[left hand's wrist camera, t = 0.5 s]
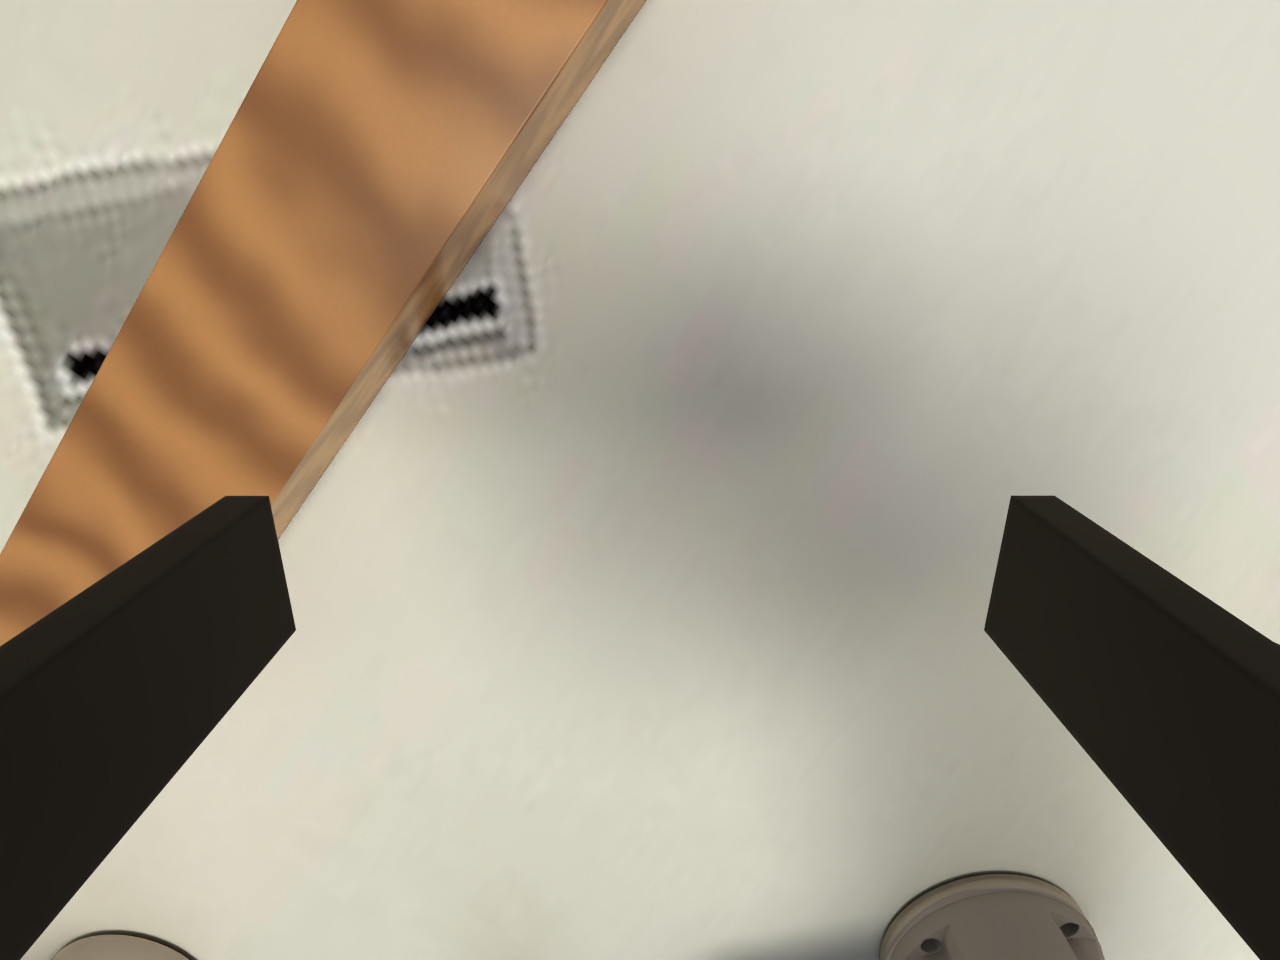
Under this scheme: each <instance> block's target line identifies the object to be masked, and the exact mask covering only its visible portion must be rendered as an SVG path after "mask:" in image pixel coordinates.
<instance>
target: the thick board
mask: <svg viewBox="0 0 1280 960" xmlns="http://www.w3.org/2000/svg"><path fill="white" fill-rule="evenodd" d="M645 1H646V0H297V2H296V4H295V6H294V7H293V9H292V11H291V13H290V15H289V17H288V19H287V20H286V22H285V24H284V26H283V28H282V30H281V32H280V34H279V35H278V37H277V39H276V41H275V43H274V45H273V47H272V48H271V50H270V52H269V54H268V56H267V58H266V60H265V62H264V63H263V65H262V67H261V69H260V71H259V73H258V75H257V76H256V78H255V80H254V82H253V84H252V86H251V88H250V90H249V91H248V93H247V95H246V97H245V99H244V101H243V103H242V104H241V106H240V108H239V110H238V112H237V114H236V116H235V117H234V119H233V121H232V123H231V125H230V127H229V129H228V131H227V132H226V134H225V136H224V138H223V140H222V142H221V144H220V145H219V147H218V149H217V151H216V153H215V155H214V157H213V159H212V160H211V162H210V164H209V166H208V168H207V170H206V172H205V173H204V175H203V177H202V179H201V181H200V183H199V185H198V187H197V188H196V190H195V192H194V194H193V196H192V198H191V200H190V201H189V203H188V205H187V207H186V209H185V211H184V213H183V215H182V216H181V218H180V220H179V222H178V224H177V226H176V228H175V229H174V231H173V233H172V235H171V237H170V239H169V241H168V243H167V244H166V246H165V248H164V250H163V252H162V254H161V256H160V257H159V259H158V261H157V263H156V265H155V267H154V269H153V270H152V272H151V274H150V276H149V278H148V280H147V282H146V284H145V285H144V287H143V289H142V291H141V293H140V295H139V297H138V298H137V300H136V302H135V304H134V306H133V308H132V310H131V312H130V313H129V315H128V317H127V319H126V321H125V323H124V325H123V326H122V328H121V330H120V332H119V334H118V336H117V338H116V340H115V341H114V343H113V345H112V347H111V349H110V351H109V353H108V354H107V356H106V358H105V360H104V362H103V364H102V366H101V368H100V369H99V371H98V373H97V375H96V377H95V379H94V381H93V382H92V384H91V386H90V388H89V390H88V392H87V394H86V396H85V397H84V399H83V401H82V403H81V405H80V407H79V409H78V410H77V412H76V414H75V416H74V418H73V420H72V422H71V423H70V425H69V427H68V429H67V431H66V433H65V435H64V437H63V438H62V440H61V442H60V444H59V446H58V448H57V450H56V451H55V453H54V455H53V457H52V459H51V461H50V463H49V465H48V466H47V468H46V470H45V472H44V474H43V476H42V478H41V479H40V481H39V483H38V485H37V487H36V489H35V491H34V493H33V494H32V496H31V498H30V500H29V502H28V504H27V506H26V507H25V509H24V511H23V513H22V515H21V517H20V519H19V521H18V522H17V524H16V526H15V528H14V530H13V532H12V534H11V535H10V537H9V539H8V541H7V543H6V545H5V547H4V549H3V550H2V552H1V554H0V646H1V645H3V644H4V643H6V642H7V641H9V640H10V639H12V638H13V637H15V636H16V635H18V634H19V633H21V632H22V631H24V630H25V629H27V628H28V627H30V626H31V625H33V624H34V623H36V622H37V621H39V620H40V619H42V618H43V617H45V616H46V615H48V614H49V613H51V612H52V611H54V610H55V609H57V608H58V607H60V606H61V605H63V604H64V603H66V602H67V601H69V600H70V599H72V598H73V597H75V596H76V595H78V594H79V593H81V592H82V591H84V590H85V589H87V588H88V587H90V586H91V585H93V584H94V583H96V582H97V581H99V580H100V579H102V578H103V577H105V576H106V575H108V574H109V573H111V572H112V571H114V570H115V569H117V568H118V567H120V566H121V565H123V564H124V563H126V562H127V561H129V560H130V559H132V558H133V557H135V556H136V555H138V554H139V553H141V552H142V551H144V550H145V549H147V548H148V547H150V546H151V545H153V544H154V543H156V542H157V541H159V540H160V539H162V538H163V537H165V536H166V535H168V534H169V533H171V532H172V531H174V530H175V529H177V528H178V527H180V526H181V525H183V524H184V523H186V522H187V521H189V520H190V519H192V518H193V517H195V516H196V515H198V514H199V513H201V512H202V511H204V510H205V509H207V508H208V507H210V506H211V505H213V504H214V503H216V502H217V501H219V500H220V499H222V498H223V497H225V496H269V499H270V504H271V509H272V514H273V519H274V524H275V529H276V534H277V539H279V537H280V536H281V534H282V533H283V532H284V530H285V529H286V527H287V526H288V524H289V523H290V521H291V520H292V518H293V517H294V515H295V514H296V513H297V511H298V510H299V508H300V507H301V505H302V504H303V502H304V501H305V499H306V498H307V496H308V495H309V493H310V492H311V491H312V489H313V488H314V486H315V485H316V483H317V482H318V480H319V479H320V477H321V476H322V474H323V473H324V471H325V470H326V469H327V467H328V466H329V464H330V463H331V461H332V460H333V458H334V457H335V455H336V454H337V452H338V451H339V450H340V448H341V447H342V445H343V444H344V442H345V441H346V439H347V438H348V436H349V435H350V433H351V432H352V430H353V429H354V428H355V426H356V425H357V423H358V422H359V420H360V419H361V417H362V416H363V414H364V413H365V411H366V410H367V409H368V407H369V406H370V404H371V403H372V401H373V400H374V398H375V397H376V395H377V394H378V392H379V391H380V389H381V388H382V387H383V385H384V384H385V382H386V381H387V379H388V378H389V376H390V375H391V373H392V372H393V370H394V369H395V367H396V366H397V365H398V363H399V362H400V360H401V359H402V357H403V356H404V354H405V353H406V351H407V350H408V348H409V347H410V346H411V344H412V343H413V341H414V340H415V338H416V337H417V335H418V334H419V332H420V331H421V329H422V328H423V326H424V325H425V324H426V322H427V321H428V319H429V318H430V316H431V315H432V313H433V312H434V310H435V309H436V307H437V306H438V305H439V303H440V302H441V300H442V299H443V297H444V296H445V294H446V293H447V291H448V290H449V288H450V287H451V285H452V284H453V283H454V281H455V280H456V278H457V277H458V275H459V274H460V272H461V271H462V269H463V268H464V266H465V265H466V263H467V262H468V261H469V259H470V258H471V256H472V255H473V253H474V252H475V250H476V249H477V247H478V246H479V244H480V243H481V242H482V240H483V239H484V237H485V236H486V234H487V233H488V231H489V230H490V228H491V227H492V225H493V224H494V222H495V221H496V220H497V218H498V217H499V215H500V214H501V212H502V211H503V209H504V208H505V206H506V205H507V203H508V202H509V200H510V199H511V198H512V196H513V195H514V193H515V192H516V190H517V189H518V187H519V186H520V184H521V183H522V181H523V180H524V179H525V177H526V176H527V174H528V173H529V171H530V170H531V168H532V167H533V165H534V164H535V162H536V161H537V159H538V158H539V157H540V155H541V154H542V152H543V151H544V149H545V148H546V146H547V145H548V143H549V142H550V140H551V139H552V138H553V136H554V135H555V133H556V132H557V130H558V129H559V127H560V126H561V124H562V123H563V121H564V120H565V118H566V117H567V116H568V114H569V113H570V111H571V110H572V108H573V107H574V105H575V104H576V102H577V101H578V99H579V98H580V96H581V95H582V94H583V92H584V91H585V89H586V88H587V86H588V85H589V83H590V82H591V80H592V79H593V77H594V76H595V75H596V73H597V72H598V70H599V69H600V67H601V66H602V64H603V63H604V61H605V60H606V58H607V57H608V55H609V54H610V53H611V51H612V50H613V48H614V47H615V45H616V44H617V42H618V41H619V39H620V38H621V36H622V35H623V33H624V32H625V31H626V29H627V28H628V26H629V25H630V23H631V22H632V20H633V19H634V17H635V16H636V14H637V13H638V12H639V10H640V9H641V7H642V6H643V4H644V3H645Z"/></svg>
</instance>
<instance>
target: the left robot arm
mask: <svg viewBox="0 0 1280 960" xmlns="http://www.w3.org/2000/svg"><path fill="white" fill-rule="evenodd" d="M295 630H296V628H295V623H294V618H293V613H292V608H291V603H290V598H289V593H288V588H287V583H286V578H285V574H284V569H283V564H282V559H281V554H280V549H279V544H278V539H277V534H276V529H275V524H274V519H273V514H272V509H271V504H270V499H269V496H225V497H223V498H222V499H220V500H219V501H217V502H216V503H214V504H213V505H211V506H210V507H208V508H207V509H205V510H204V511H202V512H201V513H199V514H198V515H196V516H195V517H193V518H192V519H190V520H189V521H187V522H186V523H184V524H183V525H181V526H180V527H178V528H177V529H175V530H174V531H172V532H171V533H169V534H168V535H166V536H165V537H163V538H162V539H160V540H159V541H157V542H156V543H154V544H153V545H151V546H150V547H148V548H147V549H145V550H144V551H142V552H141V553H139V554H138V555H136V556H135V557H133V558H132V559H130V560H129V561H127V562H126V563H124V564H123V565H121V566H120V567H118V568H117V569H115V570H114V571H112V572H111V573H109V574H108V575H106V576H105V577H103V578H102V579H100V580H99V581H97V582H96V583H94V584H93V585H91V586H90V587H88V588H87V589H85V590H84V591H82V592H81V593H79V594H78V595H76V596H75V597H73V598H72V599H70V600H69V601H67V602H66V603H64V604H63V605H61V606H60V607H58V608H57V609H55V610H54V611H52V612H51V613H49V614H48V615H46V616H45V617H43V618H42V619H40V620H39V621H37V622H36V623H34V624H33V625H31V626H30V627H28V628H27V629H25V630H24V631H22V632H21V633H19V634H18V635H16V636H15V637H13V638H12V639H10V640H9V641H7V642H6V643H4V644H3V645H1V646H0V960H20V959H21V958H22V957H23V955H24V954H25V953H26V952H27V951H28V949H29V948H30V947H31V946H32V945H33V943H34V942H35V941H36V940H37V939H38V938H39V936H40V935H41V934H42V933H43V932H44V930H45V929H46V928H47V927H48V926H49V924H50V923H51V922H52V921H53V920H54V918H55V917H56V916H57V915H58V914H59V912H60V911H61V910H62V909H63V908H64V906H65V905H66V904H67V903H68V902H69V900H70V899H71V898H72V897H73V896H74V895H75V893H76V892H77V891H78V890H79V889H80V887H81V886H82V885H83V884H84V883H85V881H86V880H87V879H88V878H89V877H90V875H91V874H92V873H93V872H94V871H95V869H96V868H97V867H98V866H99V865H100V863H101V862H102V861H103V860H104V859H105V857H106V856H107V855H108V854H109V853H110V851H111V850H112V849H113V848H114V847H115V846H116V844H117V843H118V842H119V841H120V840H121V838H122V837H123V836H124V835H125V834H126V832H127V831H128V830H129V829H130V828H131V826H132V825H133V824H134V823H135V822H136V820H137V819H138V818H139V817H140V816H141V814H142V813H143V812H144V811H145V810H146V808H147V807H148V806H149V805H150V804H151V803H152V801H153V800H154V799H155V798H156V797H157V795H158V794H159V793H160V792H161V791H162V789H163V788H164V787H165V786H166V785H167V783H168V782H169V781H170V780H171V779H172V777H173V776H174V775H175V774H176V773H177V771H178V770H179V769H180V768H181V767H182V765H183V764H184V763H185V762H186V761H187V760H188V758H189V757H190V756H191V755H192V754H193V752H194V751H195V750H196V749H197V748H198V746H199V745H200V744H201V743H202V742H203V740H204V739H205V738H206V737H207V736H208V734H209V733H210V732H211V731H212V730H213V728H214V727H215V726H216V725H217V724H218V722H219V721H220V720H221V719H222V718H223V716H224V715H225V714H226V713H227V712H228V711H229V709H230V708H231V707H232V706H233V705H234V703H235V702H236V701H237V700H238V699H239V697H240V696H241V695H242V694H243V693H244V691H245V690H246V689H247V688H248V687H249V685H250V684H251V683H252V682H253V681H254V679H255V678H256V677H257V676H258V675H259V673H260V672H261V671H262V670H263V669H264V668H265V666H266V665H267V664H268V663H269V662H270V660H271V659H272V658H273V657H274V656H275V654H276V653H277V652H278V651H279V650H280V648H281V647H282V646H283V645H284V644H285V642H286V641H287V640H288V639H289V638H290V636H291V635H292V634H293V633H294V632H295ZM984 630H985V632H986V633H987V634H988V635H989V636H990V638H991V639H992V640H993V641H994V642H995V644H996V645H997V646H998V647H999V648H1000V650H1001V651H1002V652H1003V653H1004V654H1005V656H1006V657H1007V658H1008V659H1009V660H1010V662H1011V663H1012V664H1013V665H1014V666H1015V668H1016V669H1017V670H1018V671H1019V672H1020V673H1021V675H1022V676H1023V677H1024V678H1025V679H1026V681H1027V682H1028V683H1029V684H1030V685H1031V687H1032V688H1033V689H1034V690H1035V691H1036V693H1037V694H1038V695H1039V696H1040V697H1041V699H1042V700H1043V701H1044V702H1045V703H1046V705H1047V706H1048V707H1049V708H1050V709H1051V711H1052V712H1053V713H1054V714H1055V715H1056V716H1057V718H1058V719H1059V720H1060V721H1061V722H1062V724H1063V725H1064V726H1065V727H1066V728H1067V730H1068V731H1069V732H1070V733H1071V734H1072V736H1073V737H1074V738H1075V739H1076V740H1077V742H1078V743H1079V744H1080V745H1081V746H1082V748H1083V749H1084V750H1085V751H1086V752H1087V754H1088V755H1089V756H1090V757H1091V758H1092V760H1093V761H1094V762H1095V763H1096V764H1097V765H1098V767H1099V768H1100V769H1101V770H1102V771H1103V773H1104V774H1105V775H1106V776H1107V777H1108V779H1109V780H1110V781H1111V782H1112V783H1113V785H1114V786H1115V787H1116V788H1117V789H1118V791H1119V792H1120V793H1121V794H1122V795H1123V797H1124V798H1125V799H1126V800H1127V801H1128V803H1129V804H1130V805H1131V806H1132V807H1133V808H1134V810H1135V811H1136V812H1137V813H1138V814H1139V816H1140V817H1141V818H1142V819H1143V820H1144V822H1145V823H1146V824H1147V825H1148V826H1149V828H1150V829H1151V830H1152V831H1153V832H1154V834H1155V835H1156V836H1157V837H1158V838H1159V840H1160V841H1161V842H1162V843H1163V844H1164V846H1165V847H1166V848H1167V849H1168V850H1169V851H1170V853H1171V854H1172V855H1173V856H1174V857H1175V859H1176V860H1177V861H1178V862H1179V863H1180V865H1181V866H1182V867H1183V868H1184V869H1185V871H1186V872H1187V873H1188V874H1189V875H1190V877H1191V878H1192V879H1193V880H1194V881H1195V883H1196V884H1197V885H1198V886H1199V887H1200V889H1201V890H1202V891H1203V892H1204V893H1205V895H1206V896H1207V897H1208V898H1209V899H1210V900H1211V902H1212V903H1213V904H1214V905H1215V906H1216V908H1217V909H1218V910H1219V911H1220V912H1221V914H1222V915H1223V916H1224V917H1225V918H1226V920H1227V921H1228V922H1229V923H1230V924H1231V926H1232V927H1233V928H1234V929H1235V930H1236V932H1237V933H1238V934H1239V935H1240V936H1241V938H1242V939H1243V940H1244V941H1245V942H1246V943H1247V945H1248V946H1249V947H1250V948H1251V949H1252V951H1253V952H1254V953H1255V954H1256V955H1257V957H1258V958H1259V959H1260V960H1280V645H1279V644H1277V643H1275V642H1273V641H1271V640H1270V639H1268V638H1267V637H1265V636H1264V635H1262V634H1261V633H1259V632H1258V631H1256V630H1255V629H1253V628H1252V627H1250V626H1249V625H1247V624H1246V623H1244V622H1243V621H1241V620H1240V619H1238V618H1237V617H1235V616H1234V615H1232V614H1231V613H1229V612H1228V611H1226V610H1225V609H1223V608H1222V607H1220V606H1219V605H1217V604H1216V603H1214V602H1213V601H1211V600H1210V599H1208V598H1207V597H1205V596H1204V595H1202V594H1201V593H1199V592H1198V591H1196V590H1195V589H1193V588H1192V587H1190V586H1189V585H1187V584H1186V583H1184V582H1183V581H1181V580H1180V579H1178V578H1177V577H1175V576H1174V575H1172V574H1171V573H1169V572H1168V571H1166V570H1165V569H1163V568H1162V567H1160V566H1159V565H1157V564H1156V563H1154V562H1153V561H1151V560H1150V559H1148V558H1147V557H1145V556H1144V555H1142V554H1141V553H1139V552H1138V551H1136V550H1135V549H1133V548H1132V547H1130V546H1129V545H1127V544H1126V543H1124V542H1123V541H1121V540H1120V539H1118V538H1117V537H1115V536H1114V535H1112V534H1111V533H1109V532H1108V531H1106V530H1105V529H1103V528H1102V527H1100V526H1099V525H1097V524H1096V523H1094V522H1093V521H1091V520H1090V519H1088V518H1087V517H1085V516H1084V515H1082V514H1081V513H1079V512H1078V511H1076V510H1075V509H1073V508H1072V507H1070V506H1069V505H1067V504H1066V503H1064V502H1063V501H1061V500H1060V499H1058V498H1057V497H1055V496H1011V499H1010V504H1009V509H1008V514H1007V519H1006V524H1005V529H1004V534H1003V539H1002V544H1001V549H1000V554H999V559H998V564H997V569H996V574H995V578H994V583H993V588H992V593H991V598H990V603H989V608H988V613H987V618H986V623H985V628H984ZM880 960H1105V959H1104V956H1103V952H1102V949H1101V946H1100V944H1099V942H1098V940H1097V937H1096V935H1095V932H1094V930H1093V928H1092V927H1091V925H1090V924H1089V922H1088V921H1087V919H1086V917H1085V916H1084V914H1083V913H1082V911H1081V910H1080V908H1079V907H1078V905H1077V904H1076V903H1075V901H1074V900H1073V899H1072V898H1071V897H1070V896H1068V895H1067V894H1066V893H1065V892H1063V891H1062V890H1061V889H1059V888H1057V887H1055V886H1054V885H1052V884H1049V883H1047V882H1045V881H1042V880H1039V879H1036V878H1032V877H1027V876H1022V875H1015V874H987V875H978V876H972V877H967V878H963V879H959V880H956V881H953V882H950V883H947V884H945V885H942V886H940V887H937V888H935V889H933V890H931V891H929V892H928V893H926V894H924V895H922V896H921V897H919V898H918V899H916V900H915V901H913V902H912V903H911V904H910V905H908V906H907V907H906V908H905V909H904V910H903V911H902V912H901V913H900V914H899V915H898V916H897V917H896V918H895V919H894V921H893V922H892V924H891V925H890V926H889V928H888V930H887V932H886V934H885V936H884V938H883V941H882V944H881V949H880Z"/></svg>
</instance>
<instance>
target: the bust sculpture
mask: <svg viewBox="0 0 1280 960" xmlns="http://www.w3.org/2000/svg"><path fill="white" fill-rule="evenodd" d="M52 960H189V959H187V958H186V957H185V956H183V955H182V954H180V953H178V952H176V951H175V950H173V949H171V948H169V947H167V946H164V945H162V944H159V943H156V942H154V941H151V940H147V939H143V938H139V937H134V936H127V935H98V936H91V937H87V938H83V939H80V940H77V941H75V942H73V943H71V944H69V945H67V946H66V947H64V948H63V949H61V950H60V951H59V952H58V953H57V954H56V955H55V957H54V958H53V959H52Z"/></svg>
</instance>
